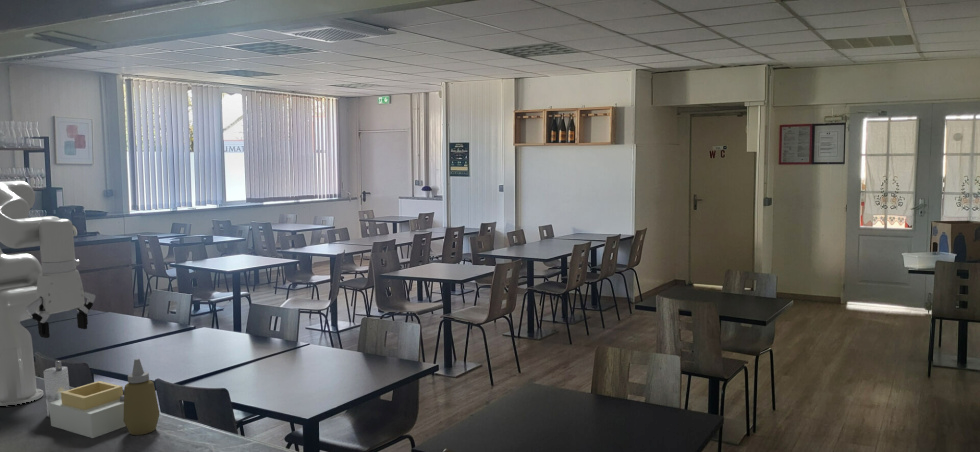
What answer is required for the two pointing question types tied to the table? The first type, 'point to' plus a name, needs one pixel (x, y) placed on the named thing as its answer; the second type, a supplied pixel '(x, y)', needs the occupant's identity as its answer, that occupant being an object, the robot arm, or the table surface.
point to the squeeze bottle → (140, 402)
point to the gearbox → (89, 409)
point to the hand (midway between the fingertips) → (64, 332)
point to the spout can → (55, 383)
